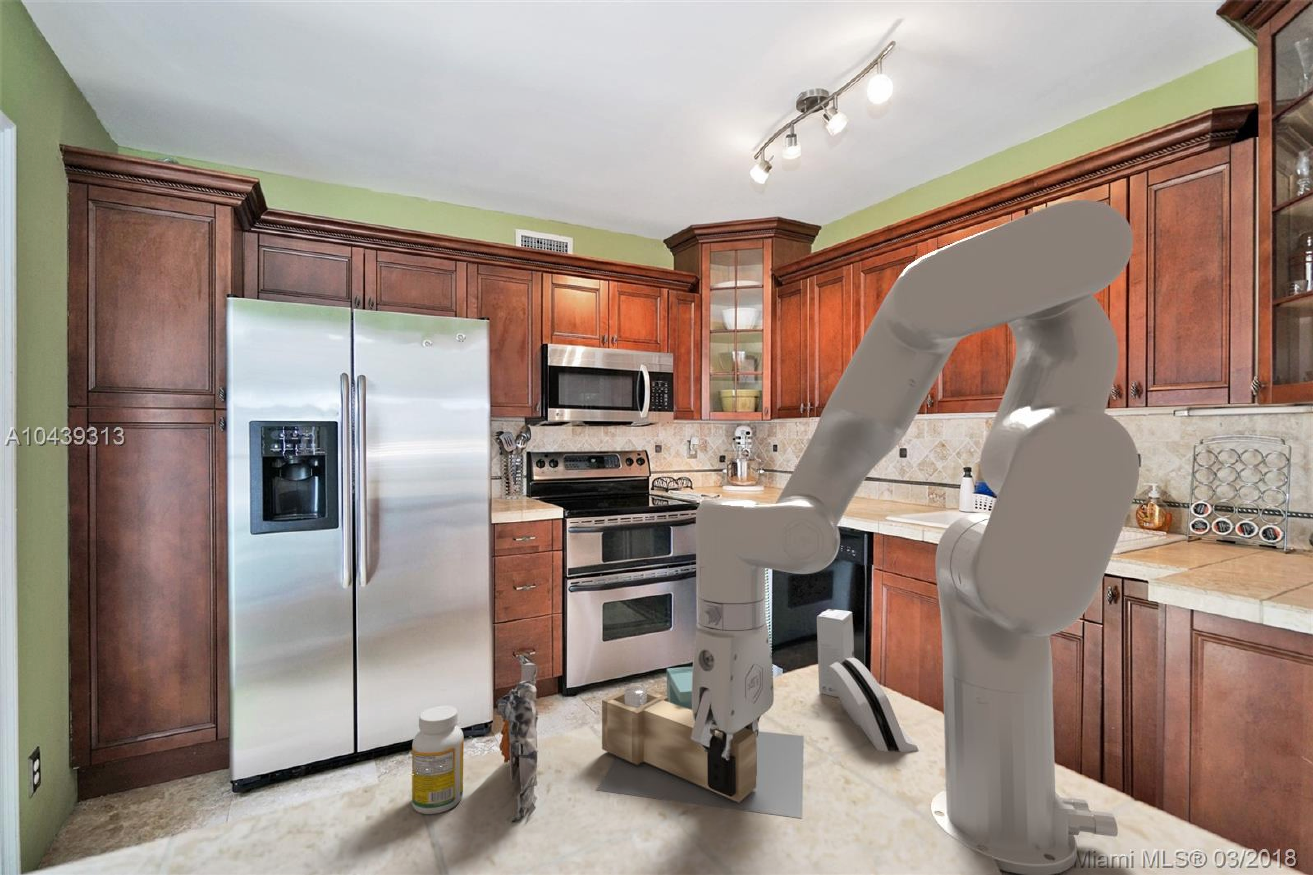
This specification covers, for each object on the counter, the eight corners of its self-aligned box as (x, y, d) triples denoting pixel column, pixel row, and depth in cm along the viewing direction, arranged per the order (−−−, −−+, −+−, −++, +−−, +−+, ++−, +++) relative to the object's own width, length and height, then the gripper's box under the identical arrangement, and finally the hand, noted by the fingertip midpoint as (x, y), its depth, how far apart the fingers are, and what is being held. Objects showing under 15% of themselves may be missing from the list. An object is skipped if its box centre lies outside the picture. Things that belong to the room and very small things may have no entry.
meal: (503, 762, 74) (502, 655, 74) (538, 758, 75) (537, 653, 75) (494, 838, 59) (494, 705, 60) (538, 832, 60) (538, 701, 61)
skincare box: (845, 699, 92) (844, 620, 92) (817, 693, 94) (815, 616, 94) (856, 686, 97) (855, 611, 97) (829, 680, 99) (827, 607, 100)
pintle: (650, 748, 75) (649, 687, 75) (644, 759, 72) (643, 696, 72) (628, 745, 75) (628, 685, 76) (622, 756, 73) (621, 694, 73)
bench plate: (803, 745, 77) (803, 736, 77) (802, 830, 60) (802, 818, 60) (640, 727, 83) (640, 719, 83) (596, 801, 65) (595, 790, 65)
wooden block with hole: (602, 749, 73) (602, 700, 73) (633, 732, 78) (633, 685, 78) (733, 807, 61) (733, 748, 61) (761, 783, 66) (761, 728, 66)
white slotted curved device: (923, 761, 73) (894, 684, 73) (887, 775, 73) (858, 697, 73) (875, 704, 90) (851, 641, 90) (845, 715, 90) (822, 652, 90)
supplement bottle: (440, 820, 62) (440, 727, 62) (400, 809, 64) (400, 719, 64) (473, 793, 67) (473, 707, 68) (436, 783, 69) (436, 700, 69)
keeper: (680, 759, 72) (680, 692, 72) (667, 729, 80) (666, 668, 80) (712, 755, 73) (712, 689, 73) (696, 726, 81) (695, 666, 81)
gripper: (717, 637, 57) (719, 834, 56) (796, 602, 69) (798, 762, 69) (656, 623, 61) (657, 804, 61) (740, 593, 74) (742, 743, 74)
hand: (732, 780), depth 65 cm, fingers closed on wooden block with hole, 3 cm apart
